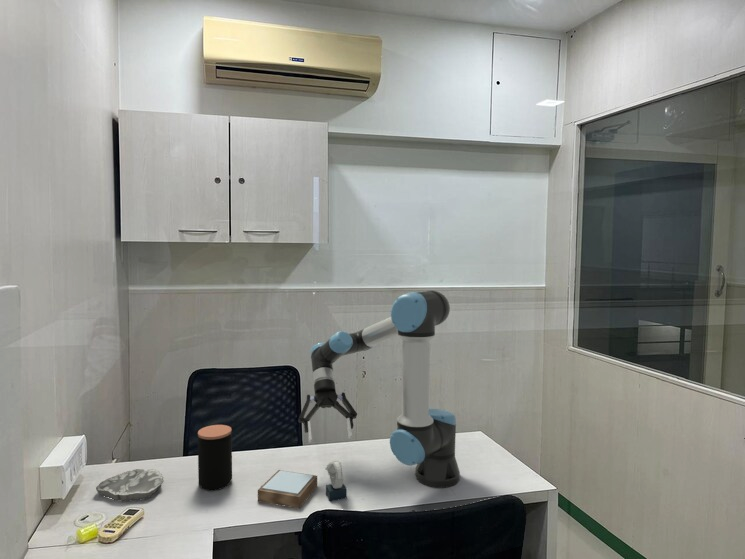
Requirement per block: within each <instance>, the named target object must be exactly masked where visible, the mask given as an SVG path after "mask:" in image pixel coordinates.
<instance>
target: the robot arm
mask: <svg viewBox="0 0 745 559" xmlns="http://www.w3.org/2000/svg"><path fill="white" fill-rule="evenodd" d="M450 311H451V306H450V302H449V300H448V298H447V297H446V296H445V294H443V293H441V292H440V291H437V290H426V291H424V290H423V291H414V292H413V291H412V292H411V291H410V292H407V293H404V294H401V295H400V296H398V297H397V298H396V299H395V301H394V302H393V304H392V306H391V309H390V316H389V317H387V318H384V319H382V320H380V321H378V322H376V323H373V324H372V325H369V326H367V327H365V328H363V329H361V330H359V331H355V332H352V333H349V332H347V331H344V330H340V331H337V332H336V333H334V334H333V335H332V336H330V338H329V339H327V341H326V342H318V343H317V344H314V345H312V347H311V349H310V359H311V360H310V361H311V368H312V369H311V370H312V376H313V377H312V378H313V389H314V395H310V394H307V395H306V398H305V400H306V401H305V403H304V404H303V408H302V410H301V412H300V413H299V414H300V415H299V416H298V424H301V423H302V424H303V428H304V429H303V430H304V433H305V434H306V433H307V439H308V444H312V439H313V438H312V431H311V430H312V428H311V419H312V417H313V416H314V415H315V414H316V412H317V411H318V410H319V409H320V408H322V409H326V408H329V409H331V408H333V409H335V410H336V411H338V413H340V414H341V415H342V416H343V417H344V418H345V419H346V428H347V430H346V431H347V435H348V436H347V437H348V440H352V437H353V432H352V430H353V429H354V419H357V415H358V412H356V410H355V408H354V407H353V406H352V404H351V403H350V401H349V400H348V398H347V396H346V393H345V392H344V391H343V392H341V393H339V394H337V390H336V383H335V375H334V367H333V364H334V363H335V362H337V361H338V359H340V358H341V357H342V356H348V355H351V354H355V353H359V352H365V351H369V350H370V349H373V347H375V346H377V345H380V344H382V343H384V342H385V343H386V342H387V341H390V340H392V339H394V338H397V337H399V338H400V339H401V340H402V362H401V364H402V368H401V370H402V372H401V376H402V380H401V385H402V386H401V414H400V415H399V416H397V417H396V418H397V419H396V429H395V430H394V431H393V432H392V433H391V435H390V438H389V446H390V450H391V452H392V454H393V456H395V458H396V459H397V460H398V461H399V462H400V464H401V463H402V464H403V465H406V466H415V465H416V467H415V478H416V480H417V481H418V482H419V483H421V484H423V485H425V486H428V487H432V488H448V487H453V486H456V485H457V484H458V483H459V482H460V478H461V475H460V474H461V472H460V468H459V465H458V461H457V458H456V437H457V436H456V434H457V430H456V428H457V423H456V422H457V421H456V415H455V414H454V413H453V412H451V411H448V410H445V409H439V408H430V361H431V360H430V357H431V356H430V354H431V352H430V350H431V348H430V346H431V340H432V339H433V338H434V337H435V336H436V326H438V325H439V326H440V325H441V324H443V323H444V322H445V321H446V320H447V319H448V317H449V314H450ZM338 400H340V401H341V402H342V404H343V405H344V406H343V405H342V404H340V402H339V401H338ZM313 401H314V402H315V404H314V406H313V407H312V408H311V410H310V411H309V412H308V414H307V411H308V409H309V406H310V404H311V403H312V402H313ZM305 415H306V416H305Z"/></svg>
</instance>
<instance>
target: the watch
mask: <svg viewBox="0 0 745 559" xmlns="http://www.w3.org/2000/svg"><path fill="white" fill-rule="evenodd" d="M324 468H325V470H326V471H327V473H328V476H329V480H330V483H329V484H326V485H325V495H326V497H327V499H328V501H329V502H331V501H332V500H334V501H338V499H339V500H343V499H347V493H348V492H347V487H346V485H345V484H344V477H343V476H344V473H343V466H342V462H341V461H340V460H332V461H331V462H329V463H327V465H326V467H324Z"/></svg>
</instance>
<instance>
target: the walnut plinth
mask: <svg viewBox="0 0 745 559" xmlns="http://www.w3.org/2000/svg"><path fill="white" fill-rule="evenodd" d="M317 487H318V475H314V474H308V473H301V472H295V471H288V470H281V469H279V470H277V471H276V472H275V473H273V474H272V476H271V477H270V478H269V479H268V480H266V481H265V482H264V483H263V484H262V485H261V486H260V487H259V488H257V502H259V503H264V504H271V505H276V504H278V505H277V506H282V505H285V506H284V507H288V506H291V507H290V508H293V507H296V508H295V509H301V507H302V506H303V505H304V504H305V502H306V501H307V500H308V499H309V497H310V496H311V495H312V494H313V492H314V491H315V490H316V489H317ZM307 498H308V499H307ZM306 499H307V500H306ZM302 504H303V505H302Z"/></svg>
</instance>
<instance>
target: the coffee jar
mask: <svg viewBox="0 0 745 559" xmlns="http://www.w3.org/2000/svg"><path fill="white" fill-rule="evenodd" d="M232 431H233V430H232V427H231V426H229V425H226V424H213V425H208V426H205V427H204V426H203V427H202V428H200V429H199V430H198V431H197V437H198V438H197V457H198V458H197V464H198V465H197V466H198V467H197V469H198V470H197V472H198V474H197V475H198V485H199V487H200V488H201V489H202V490H204V491H218V490H222V489H225V488H226V487H228V486H229V485H230V483H231V482H232V479H233V447H232V446H233V437H232Z"/></svg>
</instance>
